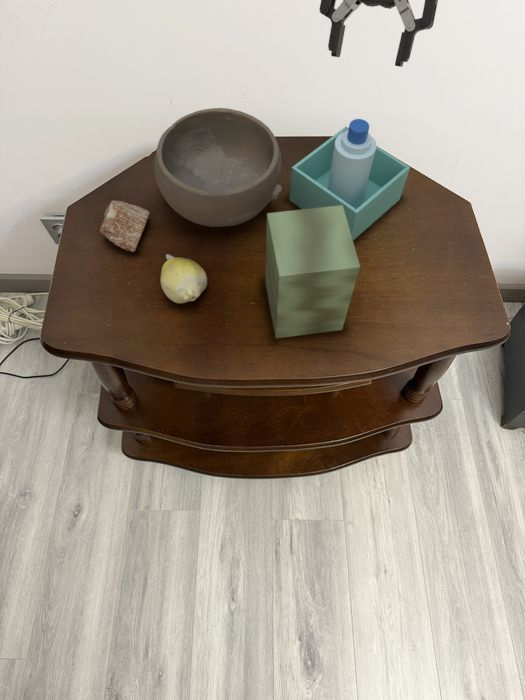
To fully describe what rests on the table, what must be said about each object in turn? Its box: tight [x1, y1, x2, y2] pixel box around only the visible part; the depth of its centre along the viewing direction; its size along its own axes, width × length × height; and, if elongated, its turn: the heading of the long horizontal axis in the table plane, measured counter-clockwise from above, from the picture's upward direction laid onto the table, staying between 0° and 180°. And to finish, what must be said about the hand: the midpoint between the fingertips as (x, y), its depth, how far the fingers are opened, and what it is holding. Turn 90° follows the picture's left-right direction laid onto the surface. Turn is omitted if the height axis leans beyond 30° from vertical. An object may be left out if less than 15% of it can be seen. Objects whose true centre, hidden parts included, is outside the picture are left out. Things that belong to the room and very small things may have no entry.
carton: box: [288, 126, 411, 241], centre depth 78 cm, size 12×12×6 cm
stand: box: [264, 205, 361, 339], centre depth 66 cm, size 9×9×14 cm
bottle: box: [328, 118, 377, 209], centre depth 75 cm, size 6×6×13 cm
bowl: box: [153, 107, 283, 228], centre depth 76 cm, size 17×18×10 cm
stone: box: [99, 200, 150, 253], centre depth 76 cm, size 7×6×5 cm
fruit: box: [159, 253, 208, 304], centre depth 71 cm, size 6×6×10 cm
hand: (366, 61), depth 69 cm, fingers open, 8 cm apart
